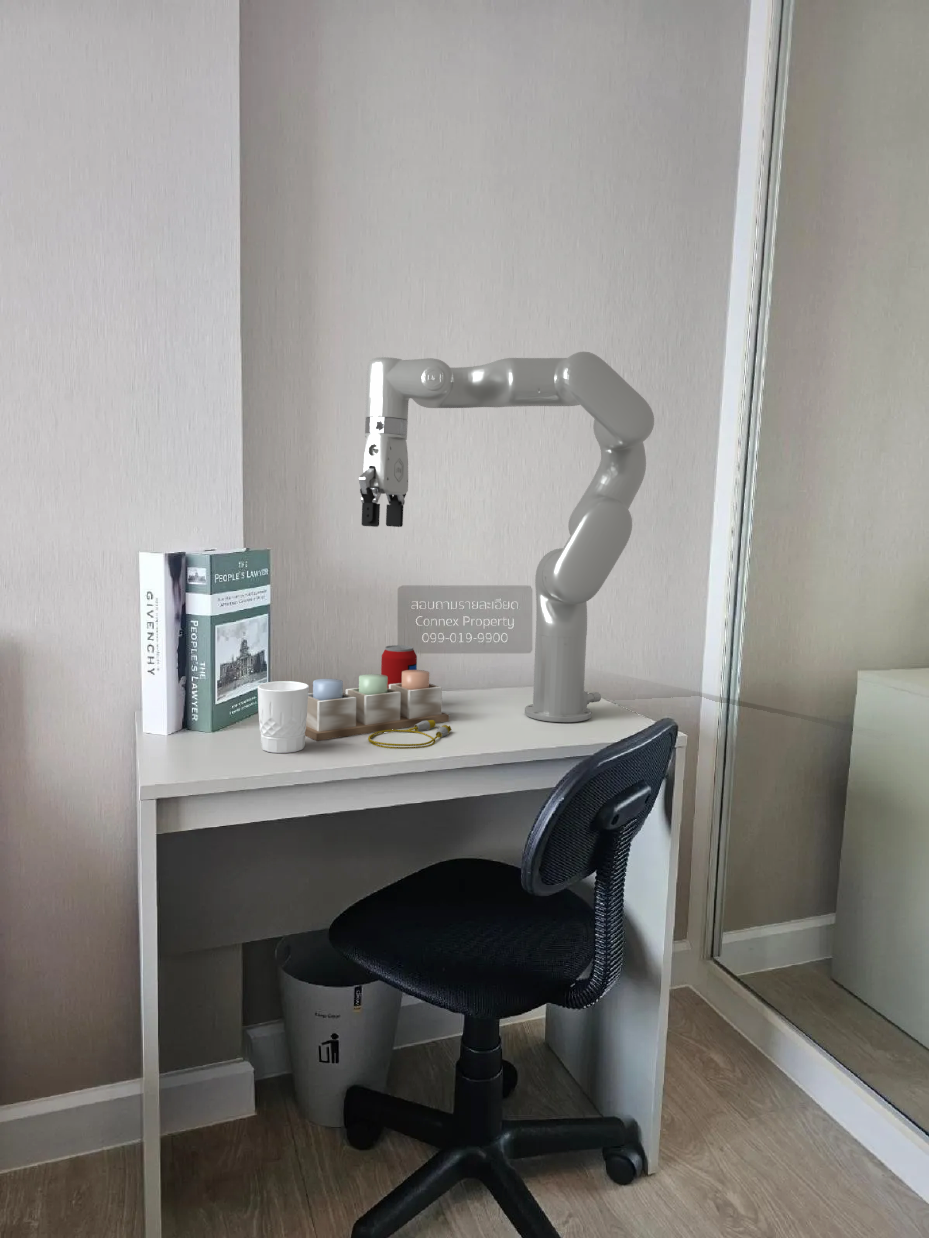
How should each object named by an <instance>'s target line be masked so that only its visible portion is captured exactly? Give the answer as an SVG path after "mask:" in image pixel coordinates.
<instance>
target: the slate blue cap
mask: <svg viewBox="0 0 929 1238" xmlns="http://www.w3.org/2000/svg"><path fill="white" fill-rule="evenodd" d="M343 686H344V681H343V680H341V679H338V678H337V679H336V678H320V679H319V678H317V679H315V680H313V682H312V693H313V698H315V699H318V700H321V701H323V700H331V699H340V698H343V693H344V692H343V691H344V687H343Z"/></svg>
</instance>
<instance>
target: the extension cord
mask: <svg viewBox="0 0 929 1238" xmlns="http://www.w3.org/2000/svg"><path fill="white" fill-rule="evenodd" d="M436 724H437V723H435V721H434V720H429V721H427V720H425V721H421V722H420V723H418V724H415V725H414V726H413V727H410V728H408V729H393V730H384V731H379V732H373V733H370V735H368V737H367V740H368V742H369V743H370V744H371V745H373V746H375V747H378V748H384V749H395V750H396V749H397V750H398V749H399V750H400V749H401V750H402V749H407V750H408V749H410V750H411V749H423V748H428V747H432V746H433V745H435V744H436V740H437V739H439V738H444V737H445V736H448V734H450V732H451V731H453V730H452V727H451V725H447V724H444V725H443V724H442V725H441V726H439V727H438V728H437V729H436V732H435V736H434V737H433V736H431V735H429V734H427V733H425V732H423V731H428V730H429V731H430V730H432V729H434V728H436ZM384 732H390V733H394V732H395V733H396V732H398V733H401V732H402V733H414V734H419V735H423V736H426V737H428V738H429V739H430V740H429V741H427V742H421V743H390V742H389V743H387V742H381V741H375V740H373V739H372V738H374V736H375V737H377V736H379V735H383V733H384ZM384 734H385V733H384Z"/></svg>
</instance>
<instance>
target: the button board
mask: <svg viewBox="0 0 929 1238" xmlns="http://www.w3.org/2000/svg"><path fill="white" fill-rule="evenodd" d="M442 703H443V687H442V686H439V685H435V684H432V683H429V688H424V689H416V690H410V689H406V688H403V687H402V683H397V684H389V688H387V693H382V694H374V695H366V694H363V693H360V692H359V687H352V688H345V693H344V692H343V698H340V699H331V700H323V701H321V700H318V699H315V698H313V692H308V709H307V720H306V731H305V737H307V738H310V739H311V740H314V741H316V742H317V741H318V742H319V741H325V740H326V741H327V740H331V739H339V738H344V737H345V738H346V737H351V736H358V735H363V734H372V733H371V732H373V733H375V732H379V731H384V730H392V729H393V730H401V729H405V728H414V725H415V724H418V723H420V722H421V721H425V720H427V721H429V720H434V721H435V724H439V723H446V722H449V721H450V714H448V713H446V712H442V708H443V707H442V705H443V704H442Z"/></svg>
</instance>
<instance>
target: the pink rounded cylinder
mask: <svg viewBox="0 0 929 1238" xmlns="http://www.w3.org/2000/svg"><path fill="white" fill-rule="evenodd" d="M429 684H430V671H428V670H423V669H422V670H421V669H417V670H405V671H402V687H403V688H406V689H410V690H416V689H424V688H429Z"/></svg>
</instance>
